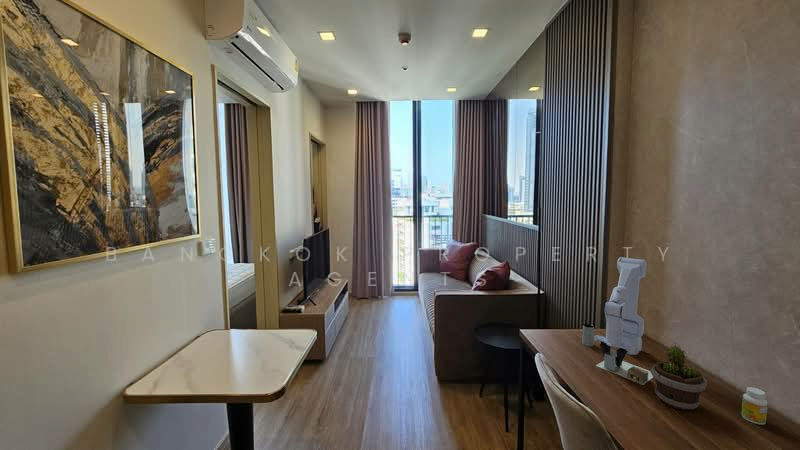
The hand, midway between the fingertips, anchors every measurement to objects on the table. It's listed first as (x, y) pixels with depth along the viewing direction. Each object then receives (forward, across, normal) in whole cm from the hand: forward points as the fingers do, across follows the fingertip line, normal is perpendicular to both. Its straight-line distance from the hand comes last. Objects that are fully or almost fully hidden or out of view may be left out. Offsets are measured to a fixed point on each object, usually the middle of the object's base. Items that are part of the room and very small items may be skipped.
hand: (613, 363), depth 134 cm
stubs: (+2, +9, -1) cm, 9 cm away
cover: (+2, +9, -1) cm, 9 cm away
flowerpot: (+4, +22, -4) cm, 23 cm away
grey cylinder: (+4, -17, +14) cm, 22 cm away
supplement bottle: (+4, +39, +6) cm, 40 cm away
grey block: (+2, 0, 0) cm, 2 cm away
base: (+3, +4, +3) cm, 6 cm away
